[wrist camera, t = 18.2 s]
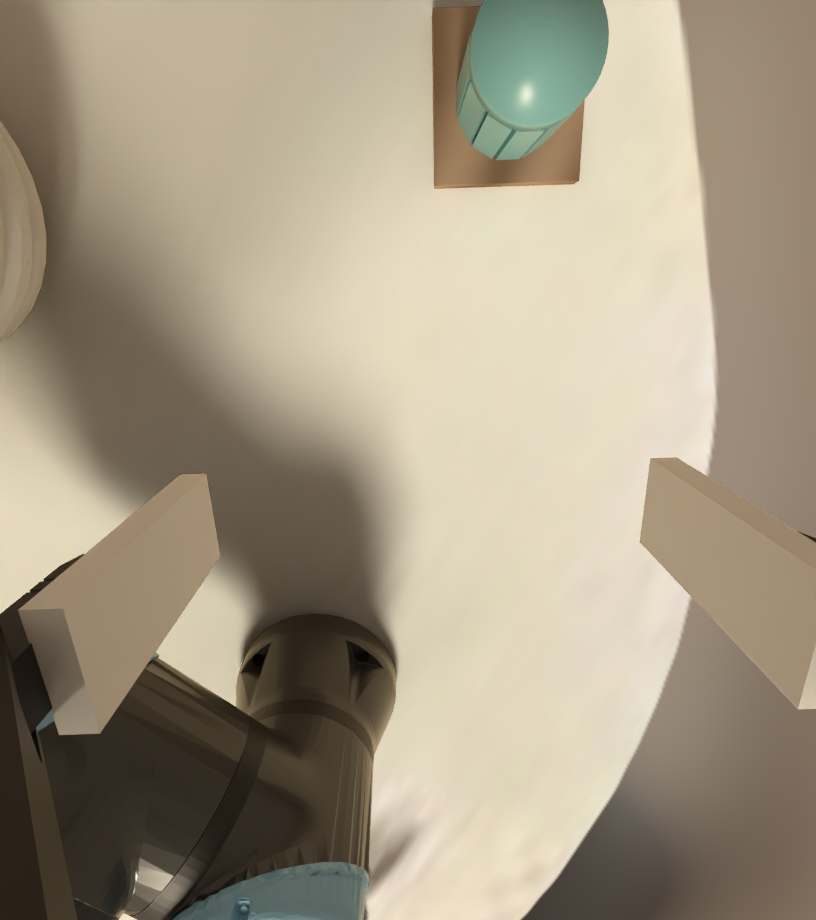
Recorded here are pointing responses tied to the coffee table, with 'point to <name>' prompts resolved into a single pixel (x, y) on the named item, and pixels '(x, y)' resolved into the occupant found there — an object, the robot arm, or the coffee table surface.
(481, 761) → the coffee table surface
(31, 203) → the table lamp
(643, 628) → the coffee table surface
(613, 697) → the coffee table surface
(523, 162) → the post base
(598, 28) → the cap
